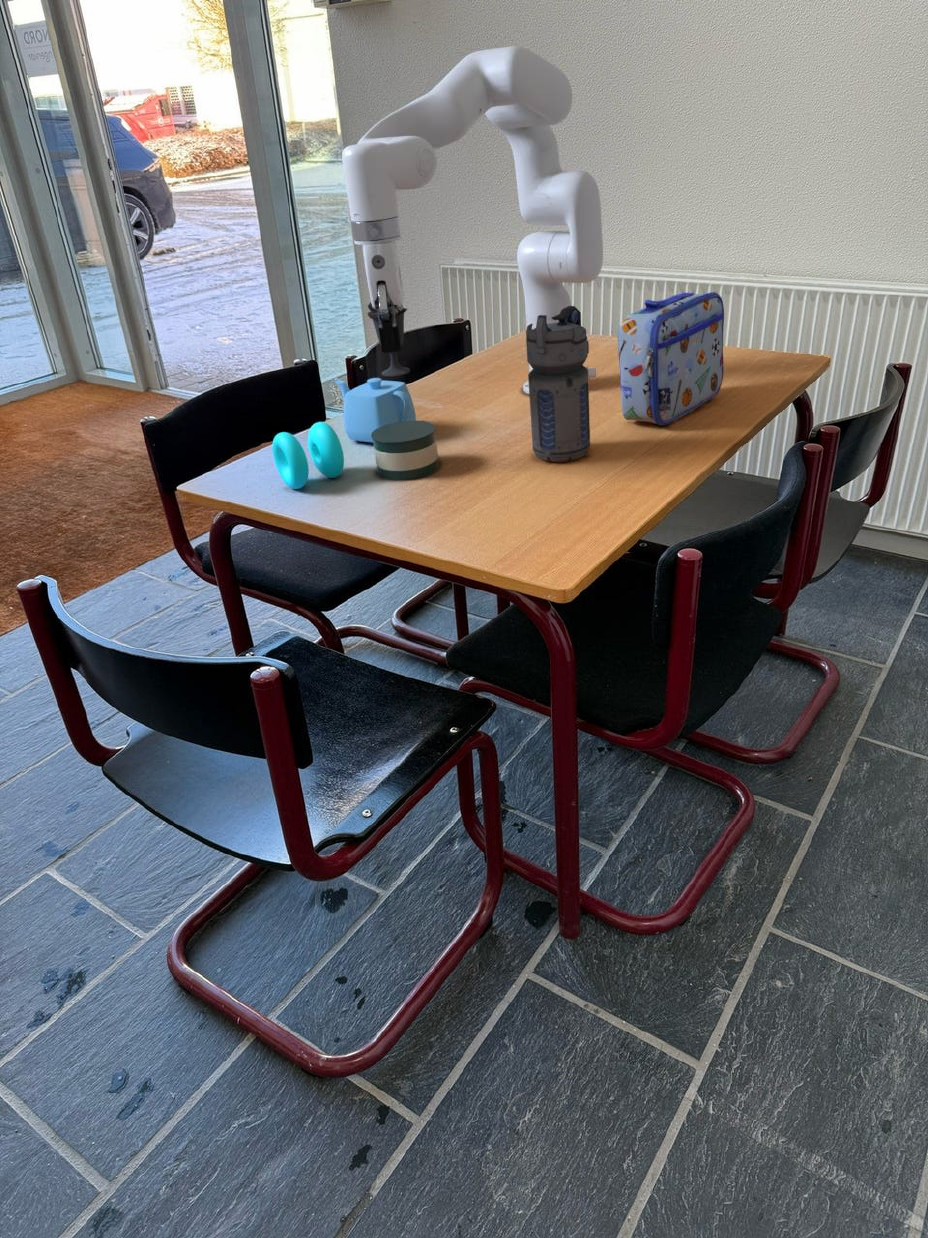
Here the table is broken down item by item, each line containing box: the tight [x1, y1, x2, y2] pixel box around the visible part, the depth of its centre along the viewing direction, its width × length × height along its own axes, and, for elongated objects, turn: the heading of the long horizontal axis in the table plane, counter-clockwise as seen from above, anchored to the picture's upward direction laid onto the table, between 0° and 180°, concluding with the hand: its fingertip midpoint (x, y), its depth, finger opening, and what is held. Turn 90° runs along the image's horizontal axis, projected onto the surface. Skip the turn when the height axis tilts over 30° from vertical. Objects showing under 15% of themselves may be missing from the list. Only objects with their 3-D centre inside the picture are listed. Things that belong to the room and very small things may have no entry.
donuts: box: [272, 421, 345, 490], centre depth 159 cm, size 10×10×10 cm
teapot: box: [333, 377, 417, 443], centre depth 178 cm, size 12×18×12 cm
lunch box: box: [617, 291, 725, 427], centre depth 170 cm, size 28×10×22 cm, turn 140°
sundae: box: [367, 288, 411, 378], centre depth 150 cm, size 7×7×15 cm
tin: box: [371, 419, 440, 481], centre depth 161 cm, size 11×11×7 cm
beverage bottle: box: [525, 305, 591, 463], centre depth 156 cm, size 10×13×25 cm
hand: (392, 346), depth 152 cm, fingers closed on sundae, 5 cm apart
